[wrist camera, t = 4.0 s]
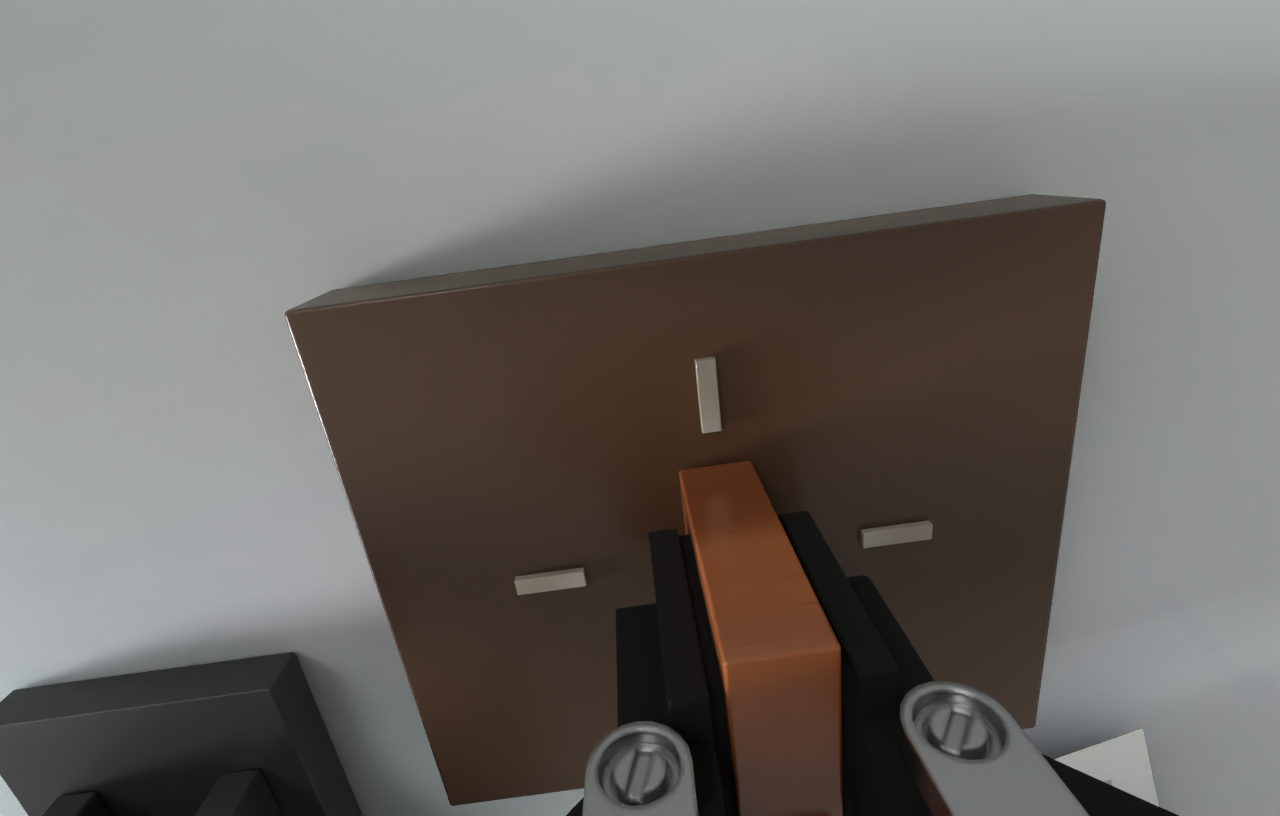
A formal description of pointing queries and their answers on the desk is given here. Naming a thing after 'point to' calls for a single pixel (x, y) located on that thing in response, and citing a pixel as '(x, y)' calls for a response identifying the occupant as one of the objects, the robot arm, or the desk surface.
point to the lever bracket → (175, 745)
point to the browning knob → (766, 647)
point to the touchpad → (1118, 764)
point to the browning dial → (705, 449)
